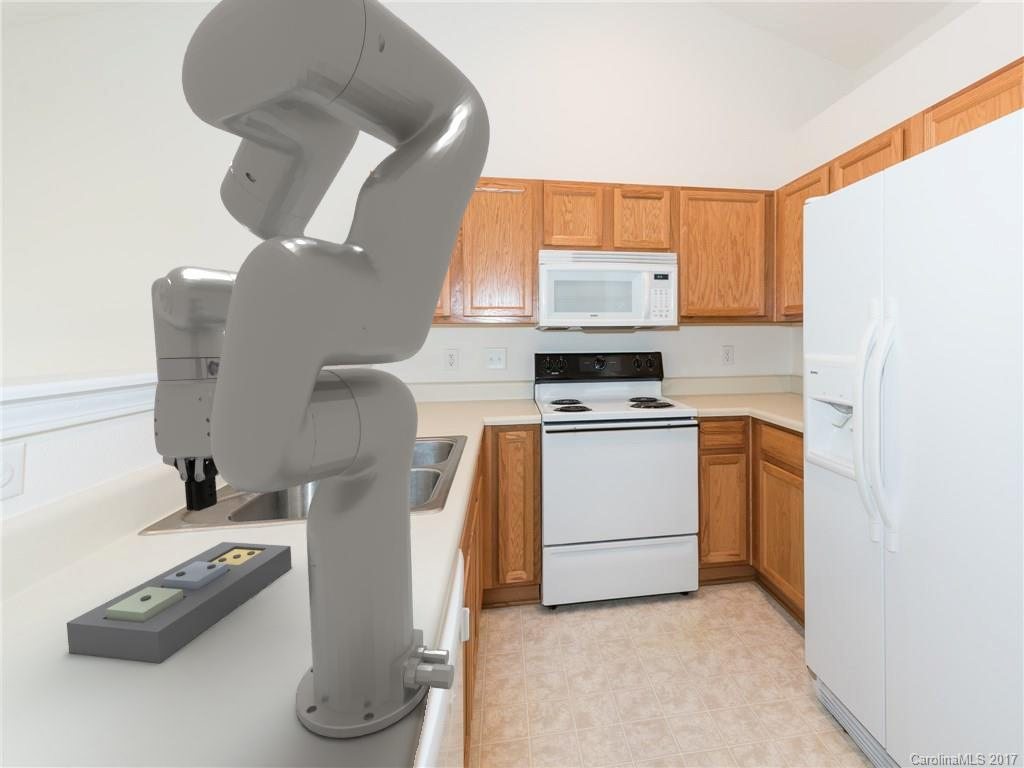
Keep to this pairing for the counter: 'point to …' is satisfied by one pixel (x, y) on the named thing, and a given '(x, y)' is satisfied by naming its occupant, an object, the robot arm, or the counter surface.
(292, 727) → the counter surface
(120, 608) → the tile one
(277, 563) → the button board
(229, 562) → the tile three
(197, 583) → the tile two
